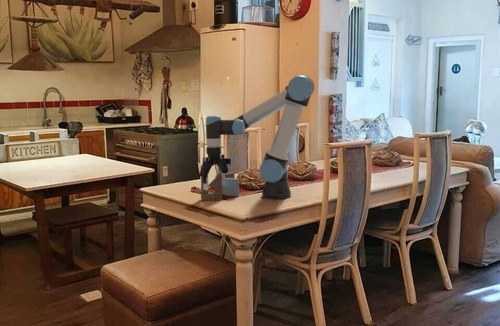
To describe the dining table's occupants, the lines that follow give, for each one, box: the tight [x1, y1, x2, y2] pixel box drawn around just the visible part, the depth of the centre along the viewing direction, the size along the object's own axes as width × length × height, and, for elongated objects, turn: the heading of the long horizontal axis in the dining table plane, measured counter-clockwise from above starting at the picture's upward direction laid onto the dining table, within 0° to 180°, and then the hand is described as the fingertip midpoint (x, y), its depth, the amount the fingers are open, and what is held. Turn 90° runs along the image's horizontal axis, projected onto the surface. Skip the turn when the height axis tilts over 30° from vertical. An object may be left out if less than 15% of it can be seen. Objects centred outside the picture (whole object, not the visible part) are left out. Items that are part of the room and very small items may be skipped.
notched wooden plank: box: [214, 171, 236, 179], centre depth 286 cm, size 2×15×11 cm, turn 144°
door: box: [222, 178, 240, 197], centre depth 278 cm, size 3×12×9 cm, turn 62°
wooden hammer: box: [200, 165, 223, 202], centre depth 267 cm, size 4×11×18 cm, turn 96°
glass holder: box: [214, 157, 232, 175], centre depth 311 cm, size 9×14×15 cm, turn 39°
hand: (214, 187), depth 268 cm, fingers open, 13 cm apart
